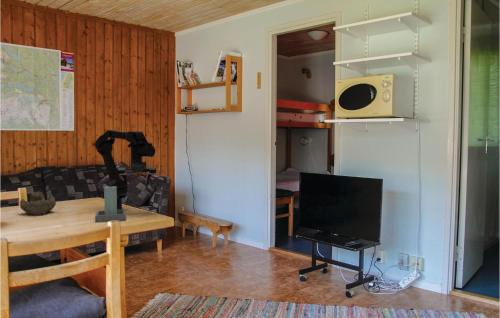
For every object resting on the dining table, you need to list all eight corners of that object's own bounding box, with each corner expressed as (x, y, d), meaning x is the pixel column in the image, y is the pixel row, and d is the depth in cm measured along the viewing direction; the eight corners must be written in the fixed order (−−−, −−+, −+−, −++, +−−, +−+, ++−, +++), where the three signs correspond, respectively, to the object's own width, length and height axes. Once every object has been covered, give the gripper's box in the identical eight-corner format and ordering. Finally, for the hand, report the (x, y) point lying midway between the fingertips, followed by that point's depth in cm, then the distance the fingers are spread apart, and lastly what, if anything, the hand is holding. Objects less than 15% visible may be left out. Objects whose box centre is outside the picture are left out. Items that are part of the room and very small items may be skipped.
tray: (97, 216, 204) (97, 210, 204) (125, 215, 208) (125, 209, 208) (95, 222, 192) (95, 215, 191) (125, 220, 195) (125, 214, 195)
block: (107, 215, 202) (107, 186, 201) (117, 215, 202) (116, 186, 201) (104, 217, 197) (104, 187, 197) (114, 217, 197) (113, 187, 197)
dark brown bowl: (18, 205, 201) (19, 190, 213) (21, 225, 206) (22, 209, 218) (55, 201, 208) (54, 186, 220) (57, 220, 212) (56, 205, 225)
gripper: (116, 157, 201) (117, 190, 202) (157, 157, 206) (157, 189, 207) (116, 156, 211) (117, 187, 212) (155, 156, 217) (155, 186, 218)
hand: (136, 187), depth 212 cm, fingers open, 9 cm apart
